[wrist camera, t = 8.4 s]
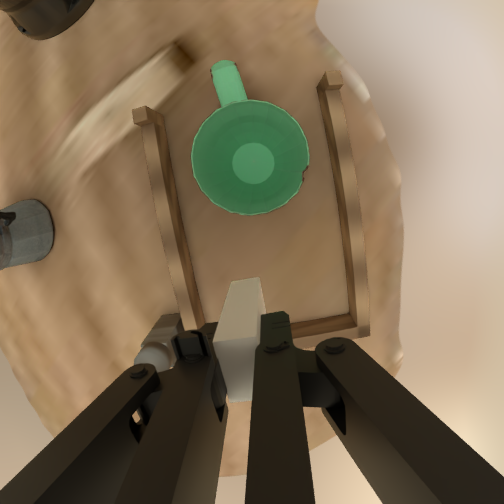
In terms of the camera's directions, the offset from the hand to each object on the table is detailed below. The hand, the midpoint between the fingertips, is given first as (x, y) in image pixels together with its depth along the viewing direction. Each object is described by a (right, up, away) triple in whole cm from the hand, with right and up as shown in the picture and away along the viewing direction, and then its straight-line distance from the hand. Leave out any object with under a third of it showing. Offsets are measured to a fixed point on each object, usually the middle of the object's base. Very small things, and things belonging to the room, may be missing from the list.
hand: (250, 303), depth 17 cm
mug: (0, +15, +18) cm, 23 cm away
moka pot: (-31, +6, +21) cm, 38 cm away
